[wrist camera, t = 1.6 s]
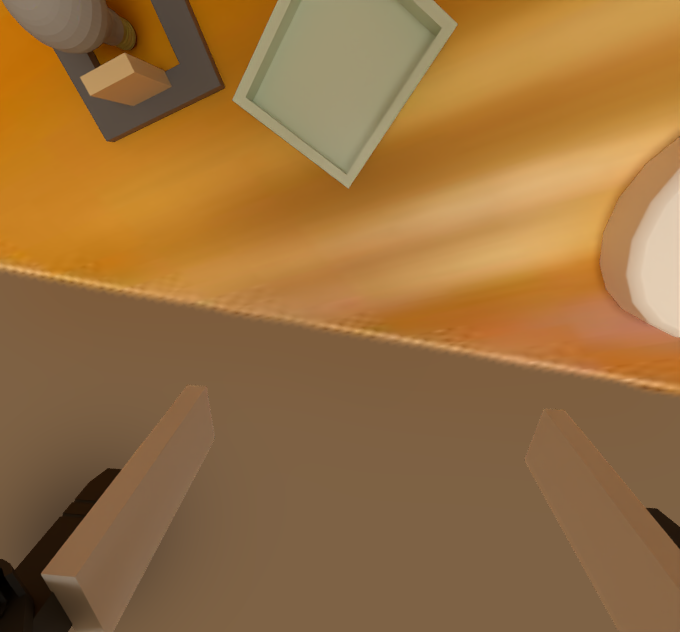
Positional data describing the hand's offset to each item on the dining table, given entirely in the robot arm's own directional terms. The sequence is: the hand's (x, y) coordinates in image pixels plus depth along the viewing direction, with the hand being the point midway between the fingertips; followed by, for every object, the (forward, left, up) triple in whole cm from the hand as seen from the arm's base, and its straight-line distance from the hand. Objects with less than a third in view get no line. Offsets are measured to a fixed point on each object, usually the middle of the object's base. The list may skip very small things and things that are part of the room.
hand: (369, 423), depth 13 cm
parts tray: (-12, -11, -23) cm, 29 cm away
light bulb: (-4, -27, -24) cm, 36 cm away
